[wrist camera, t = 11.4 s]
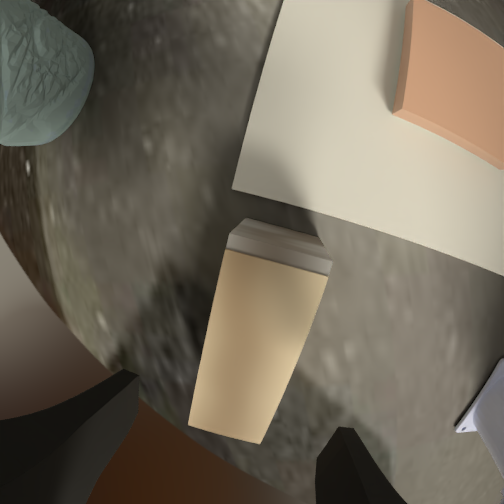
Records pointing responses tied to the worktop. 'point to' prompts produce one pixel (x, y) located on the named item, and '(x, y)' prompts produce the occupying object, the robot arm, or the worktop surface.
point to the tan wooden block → (257, 327)
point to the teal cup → (39, 74)
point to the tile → (452, 81)
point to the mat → (363, 136)
